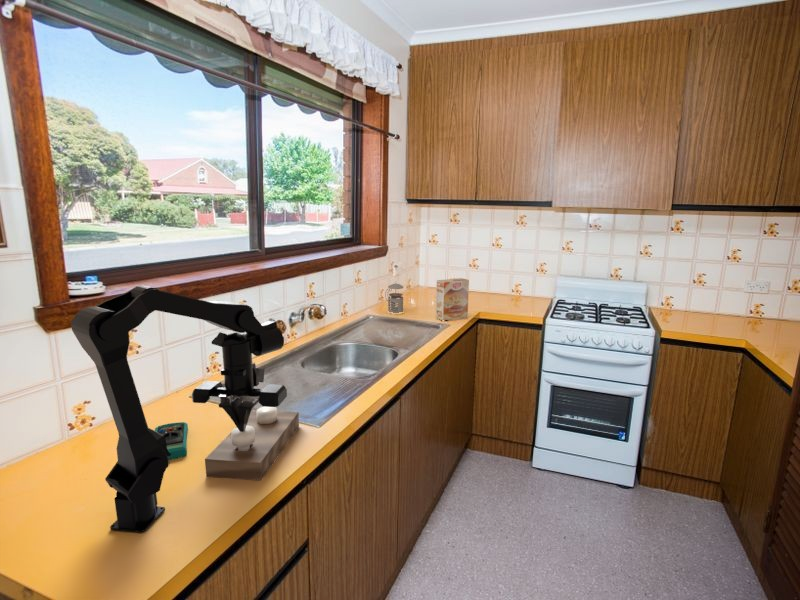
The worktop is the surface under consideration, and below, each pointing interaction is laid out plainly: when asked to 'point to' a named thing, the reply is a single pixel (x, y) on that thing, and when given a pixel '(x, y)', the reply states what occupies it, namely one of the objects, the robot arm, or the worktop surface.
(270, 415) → the far knob
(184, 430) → the digital multimeter
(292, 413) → the brown wooden board
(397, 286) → the french press
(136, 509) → the robot arm
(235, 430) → the near knob
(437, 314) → the coffeecake box
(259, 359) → the worktop surface
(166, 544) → the worktop surface
